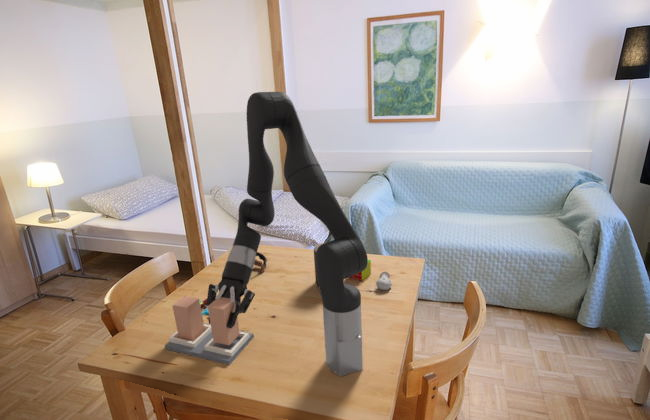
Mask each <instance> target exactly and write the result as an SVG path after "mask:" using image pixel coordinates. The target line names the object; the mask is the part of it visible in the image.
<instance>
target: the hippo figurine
mask: <svg viewBox="0 0 650 420" xmlns="http://www.w3.org/2000/svg"><path fill="white" fill-rule="evenodd" d="M390 278H391V276H390V273H388V271H382V272H381V273H380V275H379V279H377V281H376V282H375V283H376V284H375V285H376V287H377V288H378V289H379V290H380V291H387V290H389V289H390V288H391V287H393V284H392V281H391V279H390Z"/></svg>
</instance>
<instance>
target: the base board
mask: <svg viewBox="0 0 650 420" xmlns="http://www.w3.org/2000/svg"><path fill="white" fill-rule="evenodd" d="M200 301H201V300H200V298H199V297H194V296H187V295H184V296H182V297H181V298H180V299H178V300H176V302H174V303H173V304H171V305H172V310H173V316H174V320H175V324H176V325H175V326H176V330H177V331H175V333H173V334H172V335H171V336H169V337H168V342H167V343H166V344H165V345H164V350H168V351H172V352H176V353H180V354H184V355H187V356H193V357H195V358H200V359H205V360H208V361H212V362H216V363H221V364H223V365H224V364H225V365H228V366H230V365H232V363H233V362H234V361H235V359H236V358H237V357H238V356H239V355H240V354H241V352H242V351H243V350H244V349H245V348H246V347H247V346H248V345H249V343H250V342H251V341H252V340H253V339H254V338H255V336H254V333H252V332H247V331H242V330H239V333H240V335H239V336H238V337H237V338H236V339H235V340H234V341H233V342H232V343H231V344H230V345H225V344H221V343H216V342H214V341H213V335H212V329H211V324H209V323H204V320H203V316H202V313H201V307H200Z"/></svg>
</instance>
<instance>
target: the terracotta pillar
mask: <svg viewBox="0 0 650 420" xmlns="http://www.w3.org/2000/svg"><path fill="white" fill-rule="evenodd" d="M232 302H233V301H230V298H224V297H221V298H220V299H218V298H217V299H216V300H214V301H213V302H212V303H211V304H210V305H209V306H208V312H209V314H208V318H210V325H211V329H212V335H213V341H214V342H216V343H221V344H225V345H230V344H231V343H232V342H233V341H234V340H235V339H236V338H237V337H238V336H239V335H240V333H239V331H240V327H239V320H238V318H237V319H236V322H235V325H234V327H232V328H228V327H226V325H227V322H228V319H229V315H230V313H232V312H231V308H232V305H233V303H232Z"/></svg>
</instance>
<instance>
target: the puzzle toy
mask: <svg viewBox="0 0 650 420" xmlns="http://www.w3.org/2000/svg"><path fill="white" fill-rule="evenodd" d="M371 262H372V261H371V259H368V263H367V267H366V269H365V270H363V271H362V272H360V273H358V274H355V275H353V276H351V277H350V278H352V279H356V280H359V281H361V282H362V281H363V280H365V279H367V277H369V276H371V275H372V267H371V264H372V263H371Z"/></svg>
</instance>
